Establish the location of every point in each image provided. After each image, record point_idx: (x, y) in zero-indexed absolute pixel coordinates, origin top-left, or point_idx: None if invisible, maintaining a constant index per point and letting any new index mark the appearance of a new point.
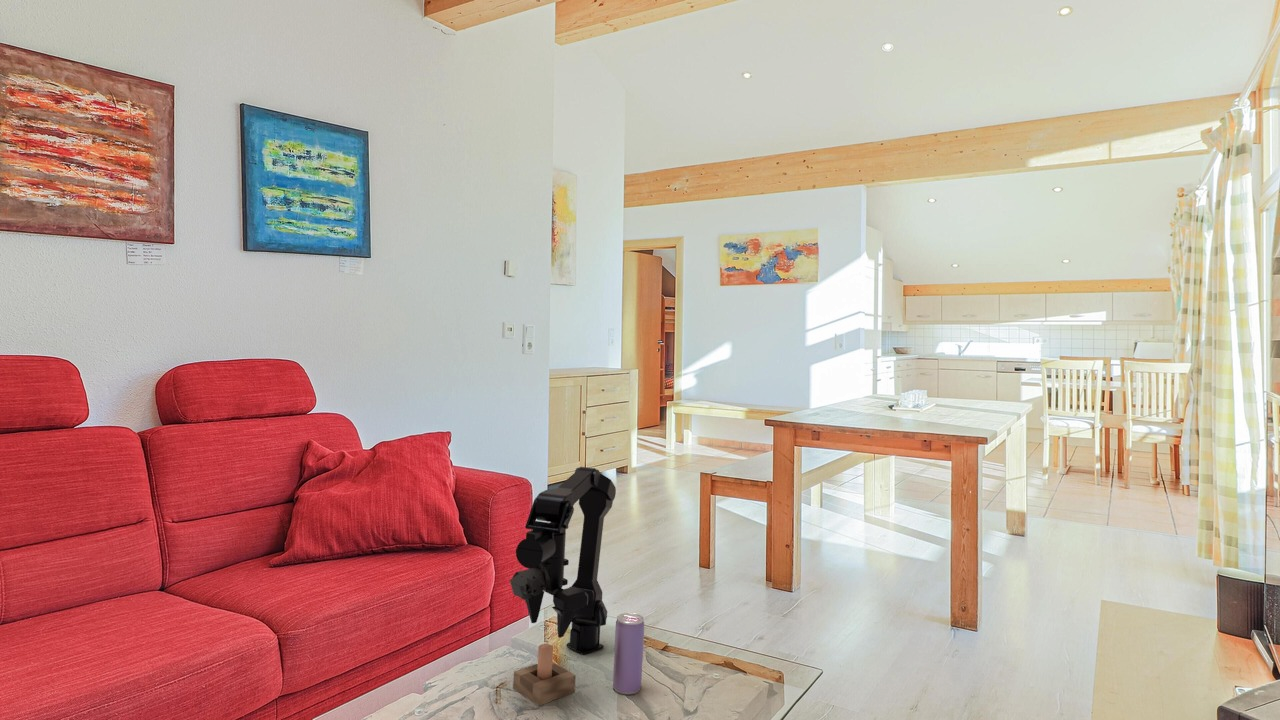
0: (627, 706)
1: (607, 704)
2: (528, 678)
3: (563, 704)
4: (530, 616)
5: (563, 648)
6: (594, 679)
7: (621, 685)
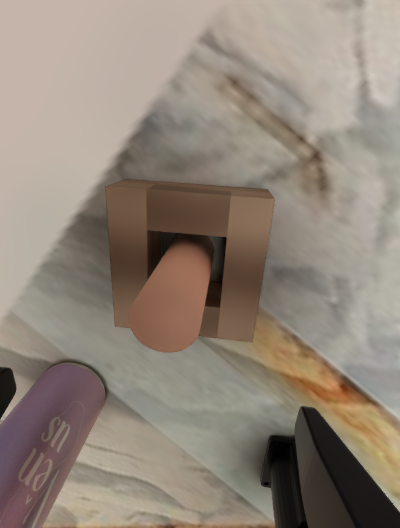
0: (10, 333)
1: (39, 311)
2: (190, 203)
3: (95, 236)
4: (333, 446)
5: (339, 433)
6: (155, 372)
7: (47, 375)
